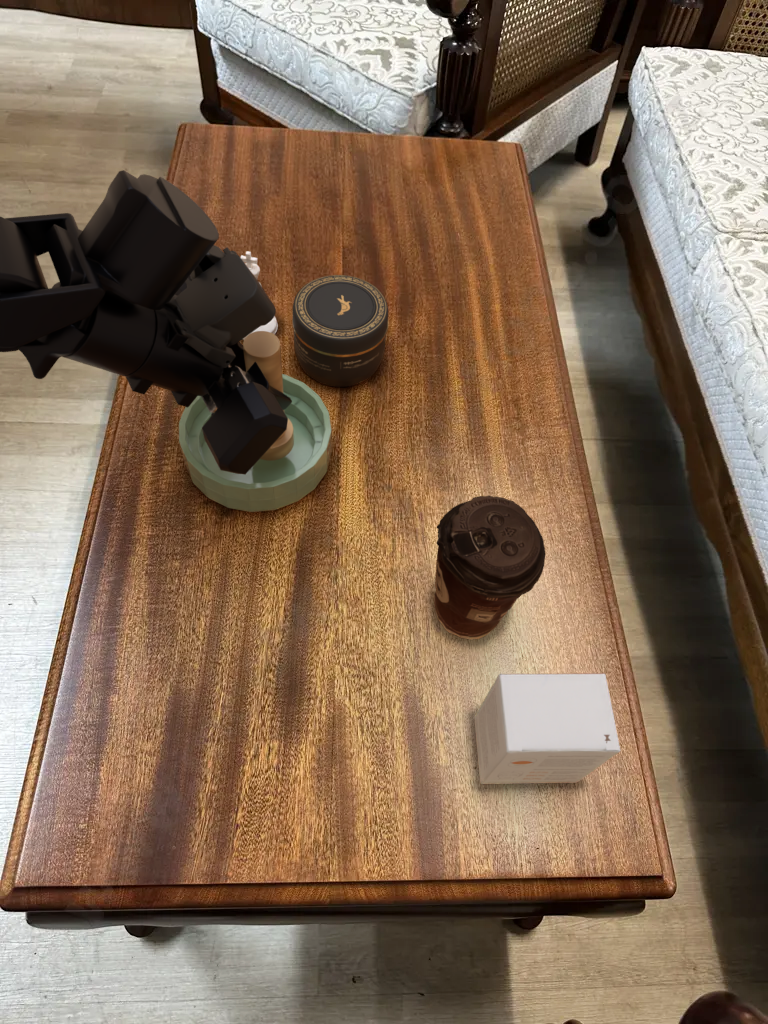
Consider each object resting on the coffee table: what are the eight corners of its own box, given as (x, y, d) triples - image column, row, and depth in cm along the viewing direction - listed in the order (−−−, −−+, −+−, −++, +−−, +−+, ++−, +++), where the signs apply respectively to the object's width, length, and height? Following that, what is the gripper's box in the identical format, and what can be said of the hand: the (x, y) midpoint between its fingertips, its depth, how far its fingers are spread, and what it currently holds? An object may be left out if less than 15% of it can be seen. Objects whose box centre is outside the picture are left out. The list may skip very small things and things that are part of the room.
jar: (363, 318, 83) (367, 264, 77) (398, 379, 79) (405, 326, 72) (281, 338, 81) (278, 283, 74) (312, 402, 76) (312, 350, 70)
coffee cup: (405, 629, 63) (423, 558, 52) (434, 552, 67) (456, 472, 57) (500, 664, 62) (538, 599, 51) (523, 584, 66) (563, 508, 55)
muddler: (257, 466, 68) (245, 369, 57) (241, 432, 70) (226, 332, 59) (300, 452, 69) (297, 355, 58) (283, 419, 71) (277, 319, 60)
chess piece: (239, 308, 83) (230, 234, 74) (281, 315, 83) (277, 241, 74) (228, 338, 80) (218, 264, 72) (272, 345, 80) (266, 272, 72)
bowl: (156, 475, 70) (147, 447, 66) (238, 381, 77) (234, 351, 73) (282, 538, 67) (280, 512, 63) (355, 434, 74) (357, 406, 70)
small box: (566, 714, 60) (609, 671, 51) (577, 785, 57) (624, 751, 48) (471, 714, 60) (498, 670, 51) (478, 785, 57) (507, 752, 48)
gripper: (251, 339, 44) (392, 400, 57) (149, 171, 52) (292, 258, 65) (151, 460, 48) (304, 492, 61) (71, 287, 56) (220, 347, 69)
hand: (280, 391), depth 64 cm, fingers closed on muddler, 3 cm apart
